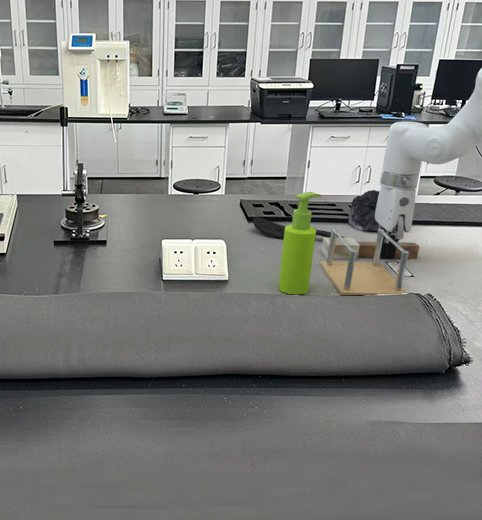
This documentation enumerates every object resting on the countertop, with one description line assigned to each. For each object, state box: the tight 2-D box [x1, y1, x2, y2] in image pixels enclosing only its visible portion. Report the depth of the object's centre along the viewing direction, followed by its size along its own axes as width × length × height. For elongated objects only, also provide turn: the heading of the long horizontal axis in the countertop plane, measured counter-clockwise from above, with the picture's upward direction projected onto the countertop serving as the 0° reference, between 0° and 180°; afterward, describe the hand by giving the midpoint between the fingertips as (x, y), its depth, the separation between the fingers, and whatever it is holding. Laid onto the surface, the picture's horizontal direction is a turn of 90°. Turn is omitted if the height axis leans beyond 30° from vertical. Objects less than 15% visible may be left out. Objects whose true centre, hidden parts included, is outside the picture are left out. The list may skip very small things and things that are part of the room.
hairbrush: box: [252, 214, 346, 240], centre depth 137 cm, size 8×4×25 cm
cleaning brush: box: [320, 236, 420, 260], centre depth 125 cm, size 21×5×4 cm, turn 87°
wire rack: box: [319, 228, 409, 296], centre depth 111 cm, size 13×16×9 cm
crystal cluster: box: [348, 189, 396, 232], centre depth 144 cm, size 13×14×10 cm
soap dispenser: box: [277, 191, 322, 295], centre depth 105 cm, size 6×7×20 cm
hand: (384, 255), depth 125 cm, fingers closed on cleaning brush, 2 cm apart
